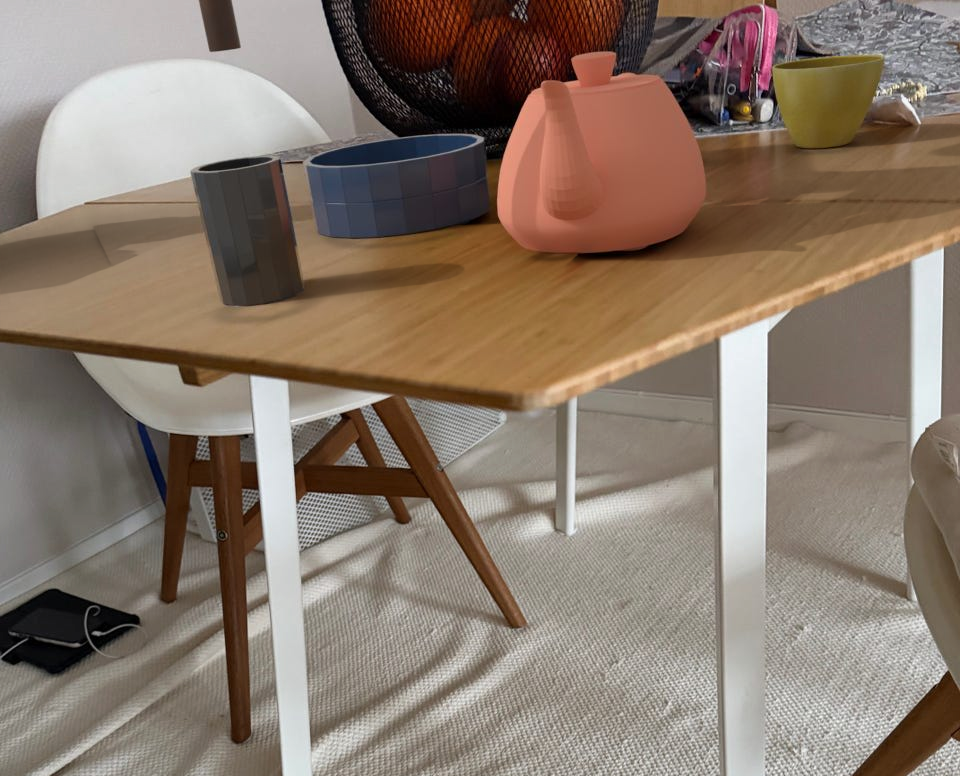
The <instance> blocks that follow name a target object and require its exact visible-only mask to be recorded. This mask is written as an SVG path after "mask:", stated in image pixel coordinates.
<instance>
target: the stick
mask: <svg viewBox="0 0 960 776" xmlns="http://www.w3.org/2000/svg"><path fill="white" fill-rule="evenodd" d="M198 4H199V9H200V14H201V19H202V22H203V23H202V24H203V27H204V32H205V37H206V42H207V47H208V52H210V53H216V52H224V51H232V50H237V49H241V47H242V46H241V41H240V36H239V30H238V25H237V21H236V15H235V10H234V5H233V0H198Z"/></svg>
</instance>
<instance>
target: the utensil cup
mask: <svg viewBox="0 0 960 776" xmlns="http://www.w3.org/2000/svg"><path fill="white" fill-rule="evenodd" d="M189 173H190V176H191V180H192V185H193V189H194V193H195V198H196V203H197V207H198V211H199V215H200V219H201V224H202V228H203V233H204V236H205V241H206V246H207V250H208V253H209V258H210V263H211V267H212V271H213V275H214V280H215V284H216V288H217V293H218V297H219V301H220V302H221V304H223V305H225V306H229V307H255V306H262V305H268V304H274V303H278V302H282V301H286V300H289V299H292V298H294V297H296V296H298V295H300V294H302V293H303V292H304V291H305V286H306V285H305V280H304V274H303V269H302V264H301V259H300V254H299V248H298V244H297V239H296V233H295V227H294V223H293V222H294V221H293V218H292V212H291V206H290V202H289V195H288V190H287V185H286V181H285V176H284V175H285V174H284V169H283V165H282V159H281V157H280V156H277V155H253V156H244V157H237V158H229V159H223V160H219V161H214V162H208V163H204V164H202V165H198V166H196V167H193V168H192V169H191V170H190V171H189Z"/></svg>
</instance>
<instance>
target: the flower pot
mask: <svg viewBox="0 0 960 776" xmlns="http://www.w3.org/2000/svg"><path fill="white" fill-rule="evenodd" d="M885 60H886V56H885V55H879V54H855V55H836V56H835V55H833V56H823V57H813V58H804V59H798V60H797V59H795V60H791V61H785V62H781V63H777V64H774V65H772V67H771V70H772V80H773V87H774V93H775V98H776V102H777V107H778V109H779V111H780V116H781V118H782V121H783V123H784V126H785V128H786V130H787V132H788V134H789V136H790V138H791V140H792V142H793V144H794V145H795V147H797V148H800V149H825V148H827V149H828V148H836V147H841V146H845V145H848V144H850V143H851V141H852V140H853V139H854V137H855V136H856V134H857V133H858V131H859V129H860V128H861V126H862V124H863V122H864V120H865V119H866V117H867V115H868V113H869V110H870V107H871V106H872V103H873V100H874V99H875V95H876V93H877V90H878V88H879V85H880V81H881V78H882V74H883V69H884V64H885Z"/></svg>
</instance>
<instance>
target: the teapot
mask: <svg viewBox="0 0 960 776" xmlns="http://www.w3.org/2000/svg"><path fill="white" fill-rule="evenodd" d="M570 60H571V64H572V68H573V70H574V73H575V75H576V78H577V80H570V81H565V82H563V81H560V80H553V79H549V80H543V81H541V84H540V87H538V88H535V89H533V90H532V91H531V92H530V93H529V94H528V95H527V97H526V100H525V101H524V103H523V105H522V107H521V109H520V112H519V114H518V116H517V119H516V121H515V124H514V126H513V128H512V131H511V134H510V136H509V139H508V141H507V144H506V147H505V150H504V153H503V157H502V161H501V165H500V170H499V177H498V185H497V199H496V206H497V207H496V208H497V217H498V218H499V221H500V224H501V225H502V227H503V228H504V229H505V230H506V232H507V233H508V234H509V235H510V237H512V239H513V240H514V241H515V242H516V243H518V245H519V246H520V247H522V248H524V249H526V250H530V251H535V252H541V253H542V252H543V253H556V254H559V253H560V254H561V253H562V254H564V253H565V254H570V253H571V254H573V253H574V254H575V253H578V254H592V253H607V252H615V251H616V252H617V251H618V252H619V251H620V252H633V251H639V250H643V249H645V248H647V247H648V246H650V245H654V244H657V243H661V242H665V241H667V240H669V239H672V238H674V237H676V236H678V235H681V234H682V233H684V231H685V230H686V229H687V228H688V227H689V226H690V224H691V222H693V220H694V218H695V217H696V216H697V214H698V212H699V211H700V209H701V208H702V207H703V204H704V203H705V199H706V197H707V180H706V179H707V178H706V172H705V167H704V161H703V157H702V153H701V148H700V146H699V144H698V140H697V137H696V136H695V132H694V130H693V129H692V127H691V124H690V122H689V120H688V118H687V116H686V114H685V113H684V111H683V109H682V108H681V106H680V104H679V102H678V100H677V99H676V97H675V95H674V94H673V93H672V91H671V88H669V87H668V85H667V84H666V82H665V81H664V79H663V78H661V76H660V75H657V74H636V73H633V72H622V73H620V74H618V75H614V76H612V75H613V71H614V68H615V64H616V60H617V53H616V52H614V51H594V52H593V51H592V52H586V53H582V54H578V55H574V56H573V57H572V58H571V59H570Z"/></svg>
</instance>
